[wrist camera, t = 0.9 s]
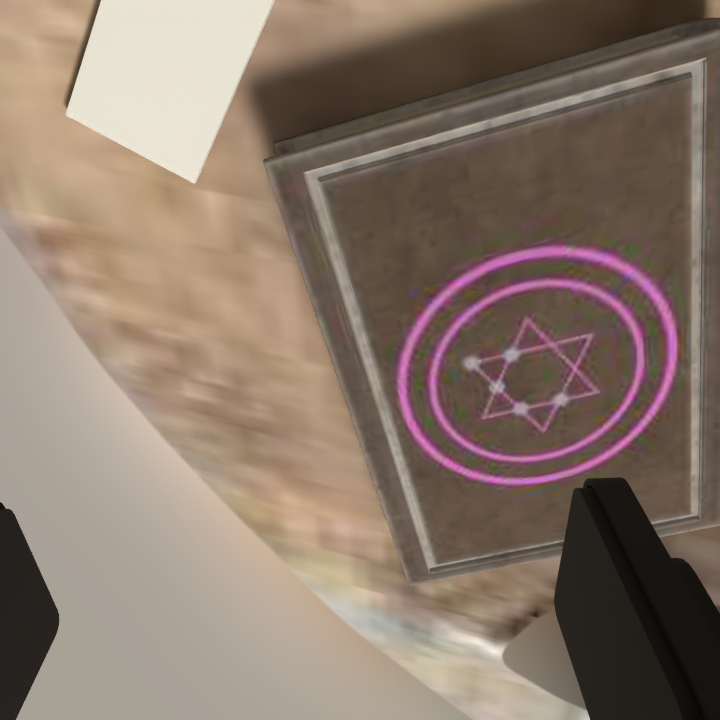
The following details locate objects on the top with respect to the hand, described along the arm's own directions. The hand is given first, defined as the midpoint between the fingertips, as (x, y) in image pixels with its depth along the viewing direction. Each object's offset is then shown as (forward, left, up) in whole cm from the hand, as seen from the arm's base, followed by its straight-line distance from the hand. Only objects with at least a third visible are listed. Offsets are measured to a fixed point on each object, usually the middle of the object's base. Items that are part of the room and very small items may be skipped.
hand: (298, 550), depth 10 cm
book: (+3, +15, -27) cm, 31 cm away
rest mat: (-1, -10, -26) cm, 28 cm away
